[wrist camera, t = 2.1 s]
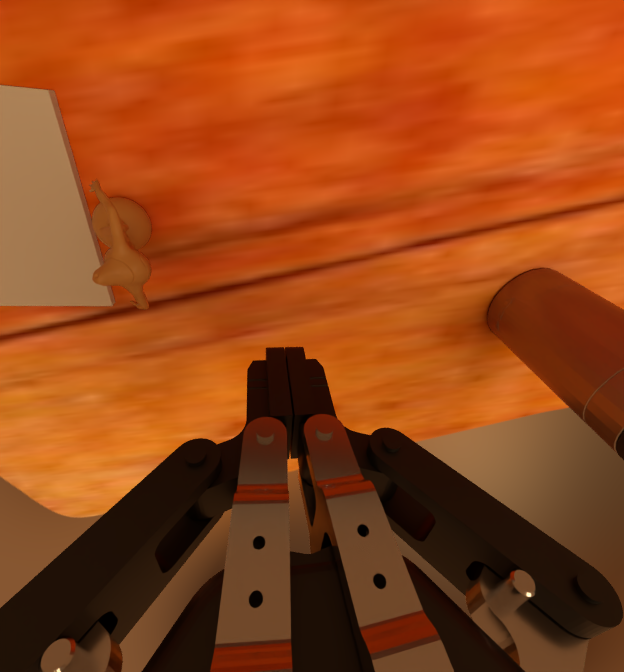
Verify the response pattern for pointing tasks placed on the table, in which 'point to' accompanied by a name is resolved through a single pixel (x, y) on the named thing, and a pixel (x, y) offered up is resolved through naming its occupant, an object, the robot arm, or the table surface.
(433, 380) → the table surface
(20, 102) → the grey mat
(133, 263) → the figurine
